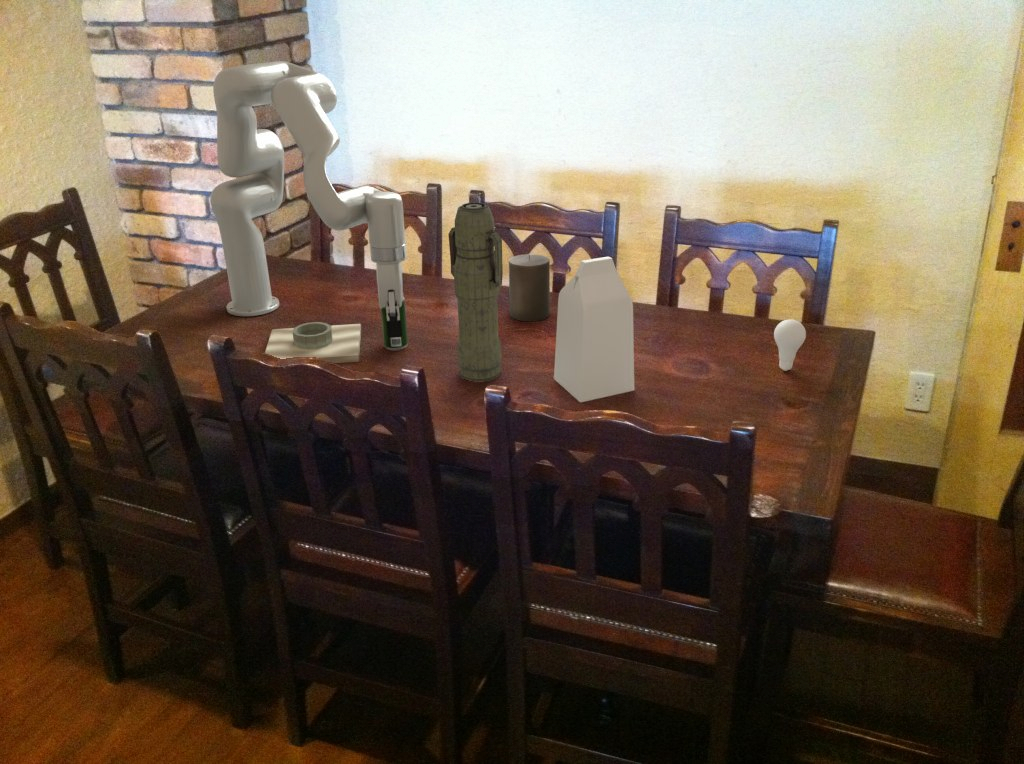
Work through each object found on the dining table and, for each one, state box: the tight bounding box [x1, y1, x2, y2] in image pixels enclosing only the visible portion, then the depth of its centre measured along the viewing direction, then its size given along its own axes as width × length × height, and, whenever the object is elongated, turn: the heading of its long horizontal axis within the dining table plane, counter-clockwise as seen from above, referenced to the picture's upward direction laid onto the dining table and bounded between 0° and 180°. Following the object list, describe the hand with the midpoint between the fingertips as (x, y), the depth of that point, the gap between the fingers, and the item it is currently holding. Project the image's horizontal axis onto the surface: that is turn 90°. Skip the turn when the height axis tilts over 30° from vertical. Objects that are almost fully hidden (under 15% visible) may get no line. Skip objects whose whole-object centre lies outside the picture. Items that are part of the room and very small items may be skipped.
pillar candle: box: [508, 253, 551, 322], centre depth 204 cm, size 10×10×15 cm
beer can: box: [380, 292, 409, 351], centre depth 189 cm, size 5×5×12 cm
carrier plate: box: [264, 321, 362, 364], centre depth 190 cm, size 18×20×4 cm
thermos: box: [448, 202, 504, 383], centre depth 170 cm, size 9×12×35 cm
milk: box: [553, 256, 635, 403], centre depth 167 cm, size 12×12×26 cm
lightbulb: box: [773, 318, 807, 372], centre depth 174 cm, size 6×6×11 cm
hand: (394, 330), depth 190 cm, fingers open, 5 cm apart
